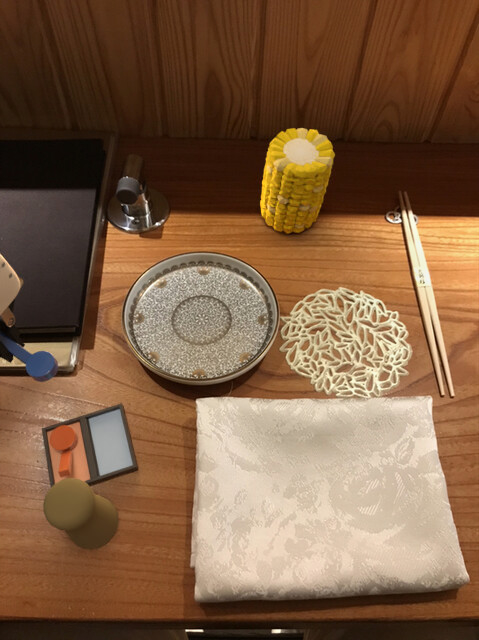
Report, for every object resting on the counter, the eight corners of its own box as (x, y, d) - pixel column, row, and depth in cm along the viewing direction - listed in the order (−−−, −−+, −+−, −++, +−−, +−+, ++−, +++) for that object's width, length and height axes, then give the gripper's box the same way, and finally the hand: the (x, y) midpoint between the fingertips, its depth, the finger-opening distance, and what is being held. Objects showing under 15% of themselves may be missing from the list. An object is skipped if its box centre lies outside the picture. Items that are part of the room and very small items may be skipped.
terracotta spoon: (85, 478, 68) (77, 470, 65) (59, 487, 68) (50, 479, 65) (76, 425, 72) (67, 415, 69) (51, 433, 72) (41, 423, 68)
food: (272, 193, 94) (328, 215, 92) (241, 231, 86) (300, 256, 84) (288, 107, 82) (352, 130, 80) (253, 143, 75) (323, 169, 73)
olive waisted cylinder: (111, 488, 68) (86, 461, 59) (124, 537, 65) (100, 517, 56) (62, 507, 67) (29, 483, 58) (73, 557, 64) (40, 541, 55)
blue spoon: (-3, 360, 64) (-17, 344, 61) (15, 338, 65) (3, 322, 62) (46, 386, 62) (34, 372, 59) (64, 363, 63) (53, 348, 60)
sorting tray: (54, 497, 68) (51, 495, 67) (44, 431, 72) (41, 428, 71) (138, 469, 69) (136, 466, 68) (123, 406, 74) (121, 403, 73)
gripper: (-46, 174, 52) (26, 286, 68) (-179, 298, 46) (-65, 390, 61) (16, 201, 50) (75, 310, 66) (-114, 335, 44) (-13, 421, 59)
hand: (7, 348), depth 64 cm, fingers closed on blue spoon, 1 cm apart
